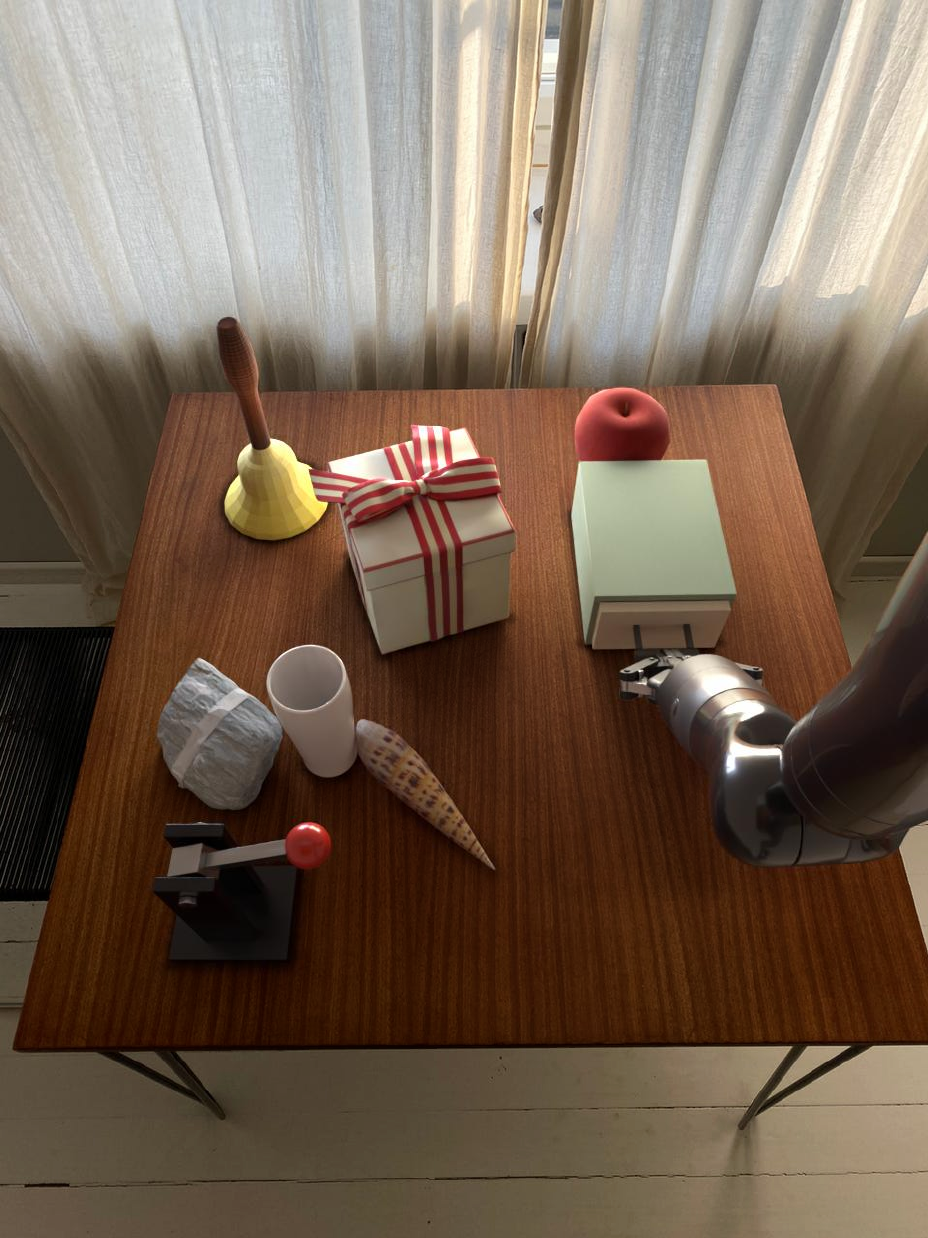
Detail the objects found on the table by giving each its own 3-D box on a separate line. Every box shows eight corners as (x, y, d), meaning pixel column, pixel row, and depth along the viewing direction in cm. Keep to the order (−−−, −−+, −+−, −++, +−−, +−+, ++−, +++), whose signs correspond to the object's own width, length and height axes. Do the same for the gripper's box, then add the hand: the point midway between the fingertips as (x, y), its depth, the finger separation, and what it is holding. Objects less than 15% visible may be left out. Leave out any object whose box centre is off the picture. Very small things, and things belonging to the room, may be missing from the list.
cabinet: (716, 642, 92) (737, 594, 84) (584, 644, 92) (594, 596, 84) (689, 512, 101) (706, 459, 94) (571, 514, 101) (578, 461, 94)
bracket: (299, 869, 79) (264, 804, 65) (289, 963, 74) (249, 913, 61) (188, 869, 79) (131, 804, 66) (172, 963, 74) (107, 912, 61)
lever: (341, 827, 63) (316, 812, 60) (337, 871, 61) (311, 858, 59) (198, 852, 67) (169, 839, 65) (190, 894, 66) (161, 882, 63)
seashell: (381, 725, 87) (376, 701, 82) (509, 858, 79) (511, 839, 75) (346, 753, 85) (339, 730, 81) (473, 892, 77) (473, 874, 73)
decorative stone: (307, 751, 85) (296, 724, 80) (232, 832, 81) (216, 808, 76) (213, 681, 89) (198, 651, 84) (137, 754, 85) (116, 726, 80)
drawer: (721, 683, 88) (739, 647, 82) (596, 685, 88) (605, 649, 82) (689, 523, 99) (702, 482, 93) (578, 525, 99) (585, 483, 93)
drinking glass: (295, 726, 87) (265, 647, 74) (364, 719, 87) (345, 639, 74) (296, 790, 83) (264, 718, 70) (367, 783, 83) (348, 709, 71)
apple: (672, 500, 102) (693, 427, 93) (585, 517, 101) (597, 444, 91) (640, 435, 108) (657, 360, 99) (557, 450, 107) (566, 375, 97)
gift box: (454, 497, 103) (451, 384, 89) (521, 616, 94) (530, 511, 79) (317, 543, 99) (290, 432, 85) (372, 671, 90) (353, 571, 76)
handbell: (343, 471, 105) (311, 293, 85) (307, 549, 99) (263, 376, 78) (248, 452, 107) (195, 273, 86) (207, 528, 101) (137, 353, 80)
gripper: (632, 762, 68) (598, 696, 85) (802, 759, 68) (734, 694, 85) (634, 669, 66) (599, 621, 83) (809, 666, 66) (738, 619, 83)
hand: (667, 658), depth 84 cm, fingers closed
